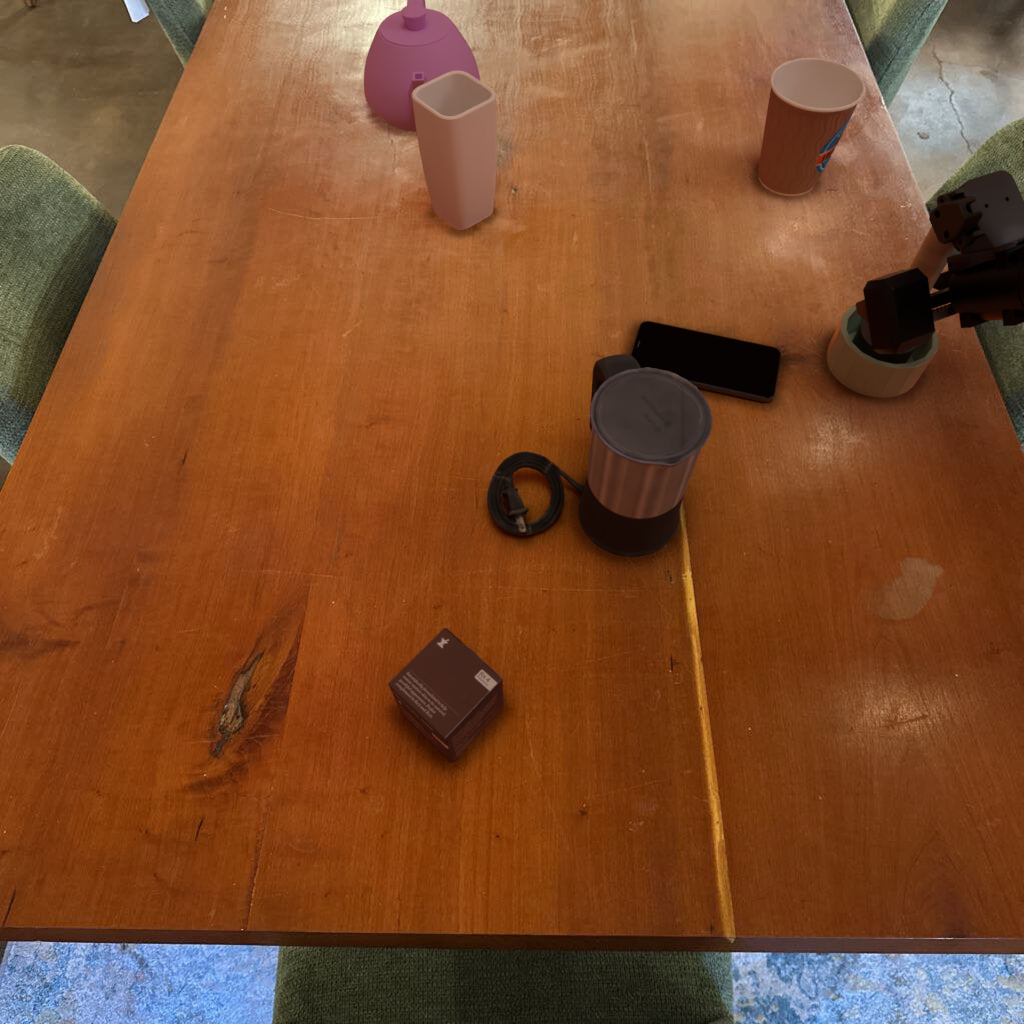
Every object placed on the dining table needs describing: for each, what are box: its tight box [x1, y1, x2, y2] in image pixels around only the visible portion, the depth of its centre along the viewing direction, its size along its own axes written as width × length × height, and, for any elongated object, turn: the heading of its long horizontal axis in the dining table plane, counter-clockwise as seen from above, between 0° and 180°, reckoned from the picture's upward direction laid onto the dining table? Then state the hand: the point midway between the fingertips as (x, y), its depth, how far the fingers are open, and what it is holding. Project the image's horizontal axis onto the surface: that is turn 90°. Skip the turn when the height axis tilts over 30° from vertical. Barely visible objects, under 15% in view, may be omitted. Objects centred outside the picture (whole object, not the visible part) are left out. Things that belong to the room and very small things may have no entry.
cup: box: [412, 71, 498, 231], centre depth 86 cm, size 7×7×15 cm
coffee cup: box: [757, 57, 867, 197], centre depth 89 cm, size 10×10×12 cm
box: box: [387, 627, 504, 763], centre depth 58 cm, size 6×6×7 cm
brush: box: [852, 225, 956, 364], centre depth 71 cm, size 6×6×16 cm
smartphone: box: [629, 320, 782, 403], centre depth 79 cm, size 7×1×15 cm
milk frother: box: [486, 353, 714, 557], centre depth 64 cm, size 14×16×15 cm
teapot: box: [363, 0, 481, 133], centre depth 99 cm, size 22×16×12 cm
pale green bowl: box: [826, 304, 940, 399], centre depth 77 cm, size 9×9×4 cm
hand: (895, 295), depth 72 cm, fingers open, 8 cm apart
